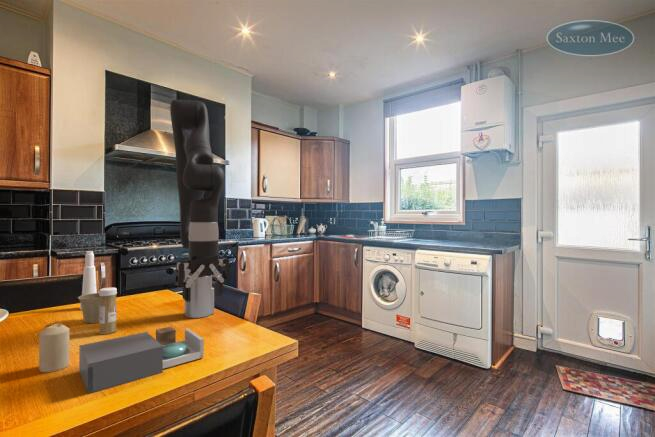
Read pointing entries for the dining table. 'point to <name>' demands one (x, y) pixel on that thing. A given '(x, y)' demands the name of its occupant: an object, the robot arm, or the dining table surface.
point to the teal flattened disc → (174, 350)
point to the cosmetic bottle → (89, 275)
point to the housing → (119, 361)
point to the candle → (54, 348)
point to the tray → (187, 350)
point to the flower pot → (90, 307)
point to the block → (166, 335)
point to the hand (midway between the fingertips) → (203, 298)
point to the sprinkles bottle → (107, 310)
